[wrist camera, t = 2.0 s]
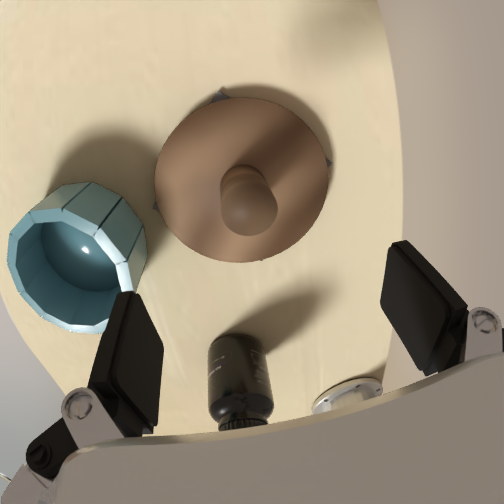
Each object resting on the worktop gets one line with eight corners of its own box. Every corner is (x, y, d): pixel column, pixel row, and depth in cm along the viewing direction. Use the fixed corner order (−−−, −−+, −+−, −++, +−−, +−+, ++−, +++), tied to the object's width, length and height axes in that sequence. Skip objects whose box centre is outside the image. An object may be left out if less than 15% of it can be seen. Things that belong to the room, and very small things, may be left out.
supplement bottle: (203, 334, 33) (204, 428, 22) (263, 328, 33) (282, 421, 23) (211, 370, 36) (214, 454, 26) (263, 365, 37) (279, 447, 26)
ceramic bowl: (166, 218, 25) (155, 253, 20) (124, 309, 30) (111, 350, 25) (53, 162, 21) (17, 184, 16) (31, 263, 26) (5, 297, 20)
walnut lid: (354, 158, 24) (388, 178, 19) (266, 278, 29) (277, 321, 24) (211, 66, 19) (209, 56, 14) (131, 215, 24) (110, 249, 19)
